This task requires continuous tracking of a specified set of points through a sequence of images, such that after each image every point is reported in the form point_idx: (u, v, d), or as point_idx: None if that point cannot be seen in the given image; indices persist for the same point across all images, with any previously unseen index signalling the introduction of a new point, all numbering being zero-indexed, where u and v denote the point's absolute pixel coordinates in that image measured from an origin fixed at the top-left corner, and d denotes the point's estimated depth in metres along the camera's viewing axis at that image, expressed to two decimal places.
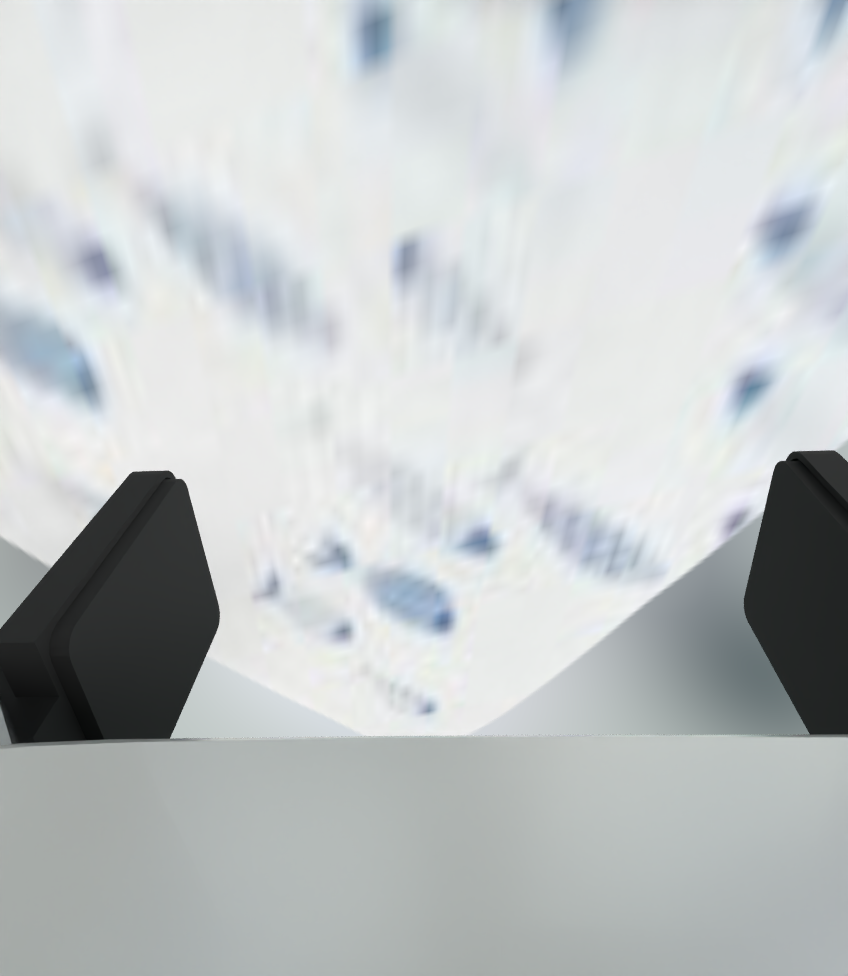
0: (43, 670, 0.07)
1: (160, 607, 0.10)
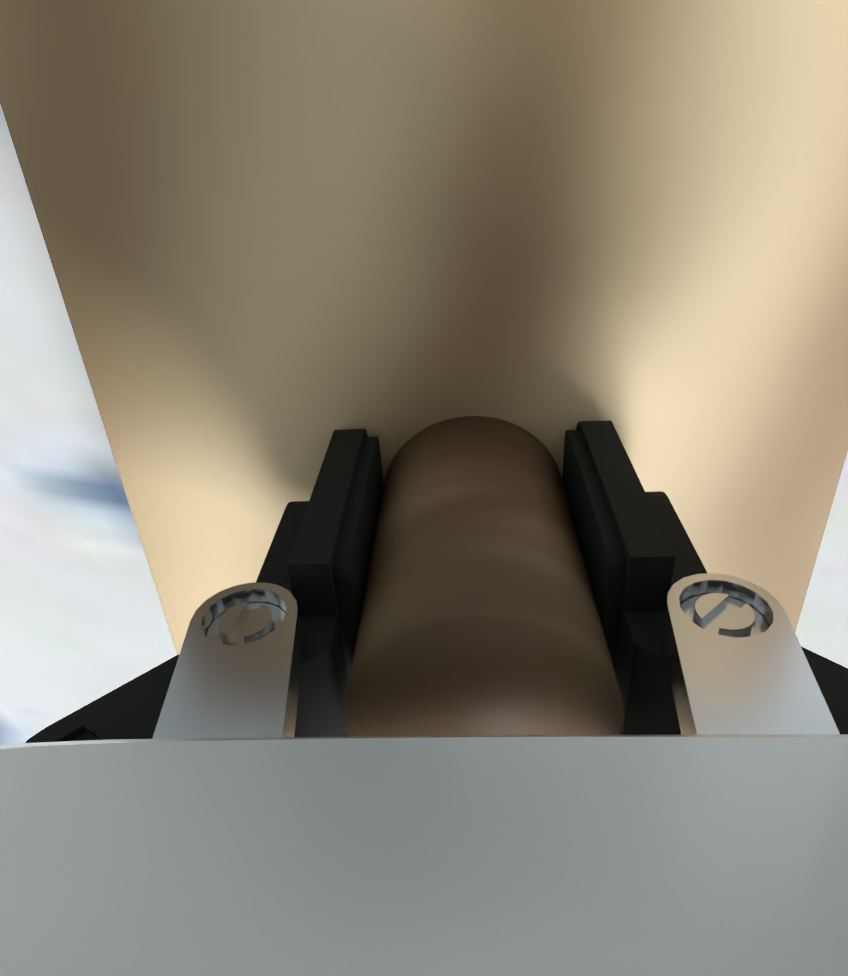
0: (327, 591, 0.08)
1: None
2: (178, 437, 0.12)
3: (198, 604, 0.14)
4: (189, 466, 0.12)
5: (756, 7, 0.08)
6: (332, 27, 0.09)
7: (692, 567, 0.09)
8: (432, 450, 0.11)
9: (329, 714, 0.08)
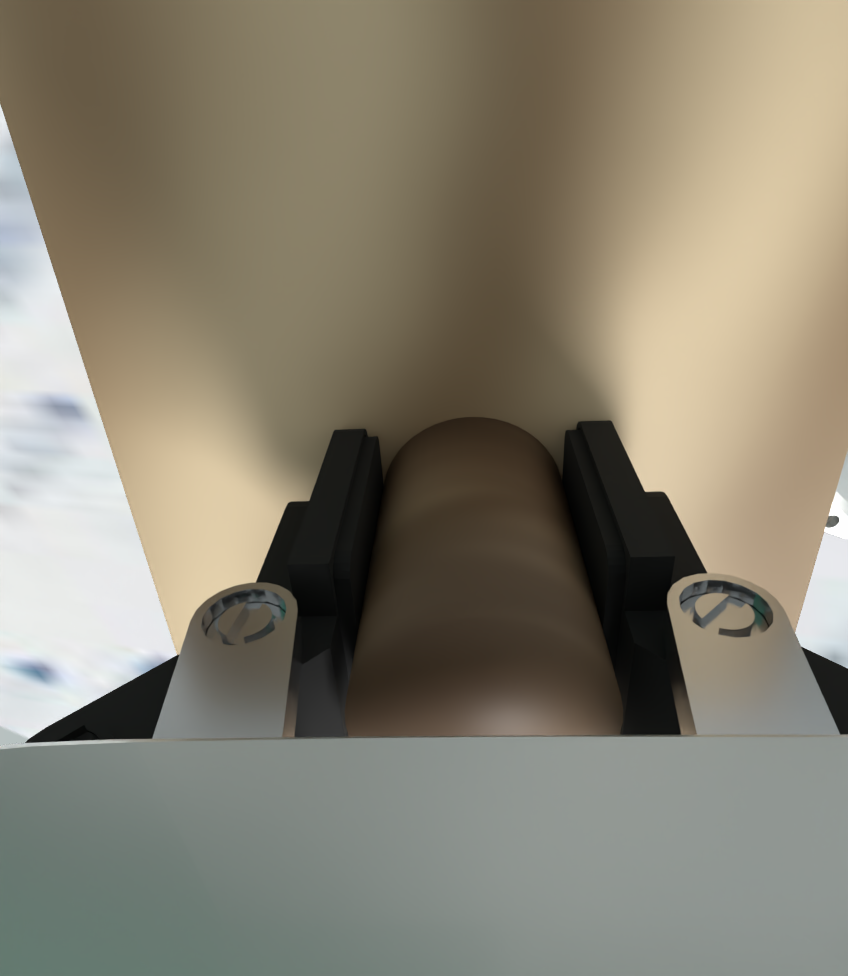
0: (327, 591, 0.08)
1: None
2: (178, 437, 0.12)
3: (198, 604, 0.14)
4: (189, 467, 0.12)
5: (758, 8, 0.08)
6: (332, 29, 0.09)
7: (692, 567, 0.09)
8: (432, 451, 0.11)
9: (329, 714, 0.08)
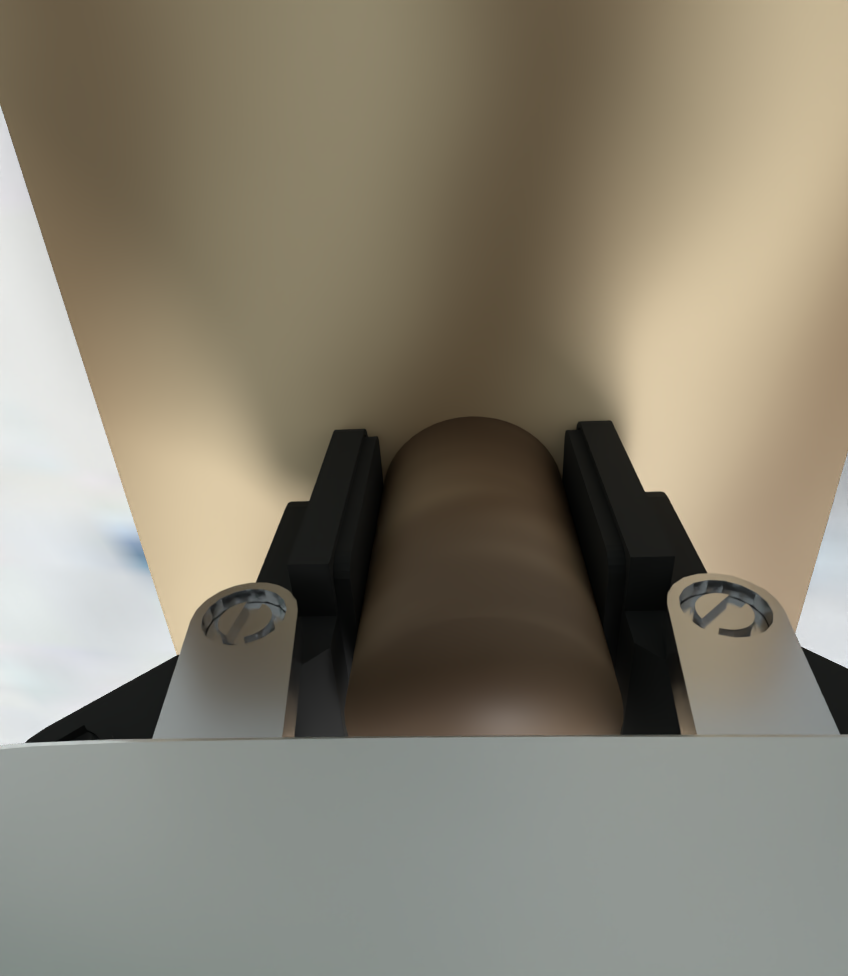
0: (327, 591, 0.08)
1: None
2: (177, 437, 0.12)
3: (197, 604, 0.14)
4: (189, 466, 0.12)
5: (757, 7, 0.08)
6: (332, 27, 0.09)
7: (692, 567, 0.09)
8: (432, 450, 0.11)
9: (329, 714, 0.08)
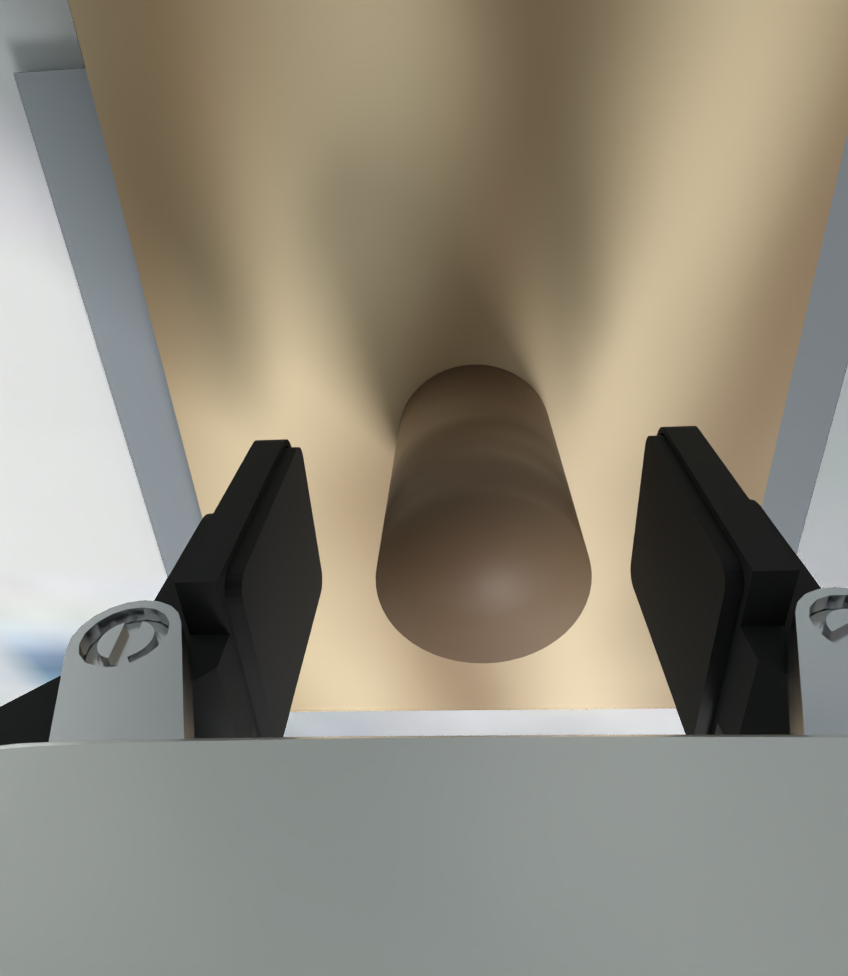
0: (218, 609, 0.08)
1: (289, 564, 0.10)
2: (227, 383, 0.14)
3: None
4: (235, 409, 0.14)
5: (700, 28, 0.11)
6: (363, 43, 0.11)
7: (801, 580, 0.09)
8: (441, 390, 0.13)
9: (221, 735, 0.08)
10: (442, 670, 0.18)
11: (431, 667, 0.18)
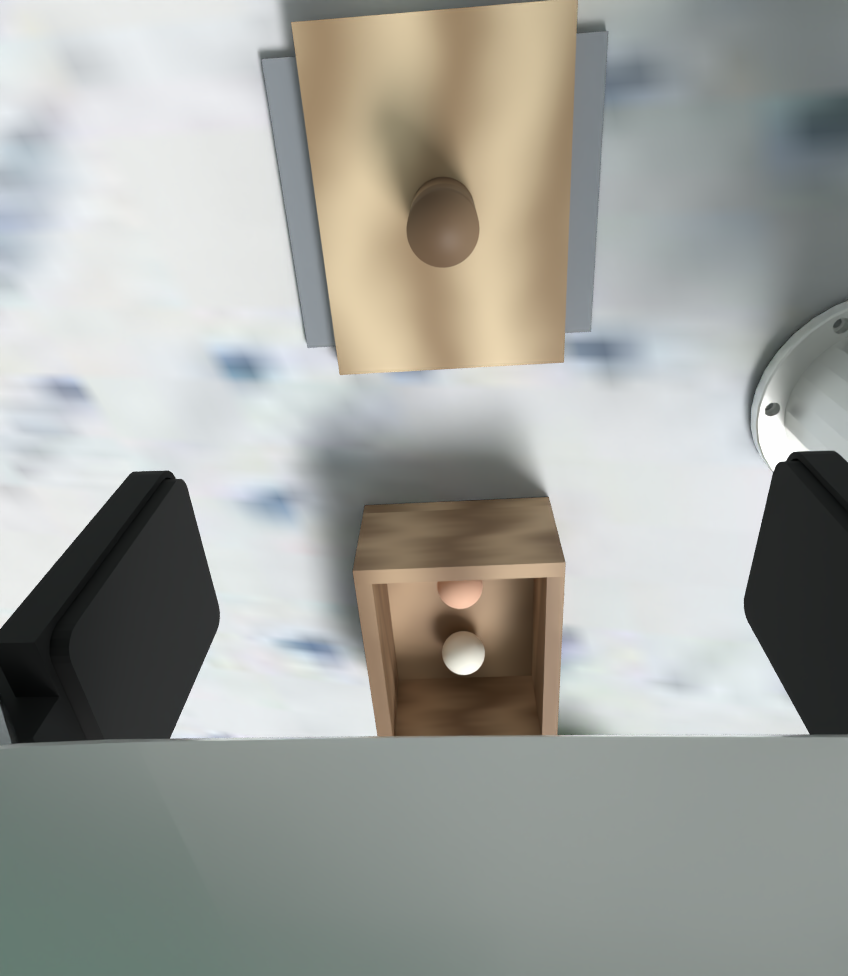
0: (43, 670, 0.07)
1: (160, 607, 0.10)
2: (339, 188, 0.34)
3: (339, 266, 0.36)
4: (342, 201, 0.34)
5: (516, 39, 0.30)
6: (397, 46, 0.31)
7: None
8: (428, 183, 0.33)
9: None
10: (432, 343, 0.38)
11: (427, 342, 0.38)
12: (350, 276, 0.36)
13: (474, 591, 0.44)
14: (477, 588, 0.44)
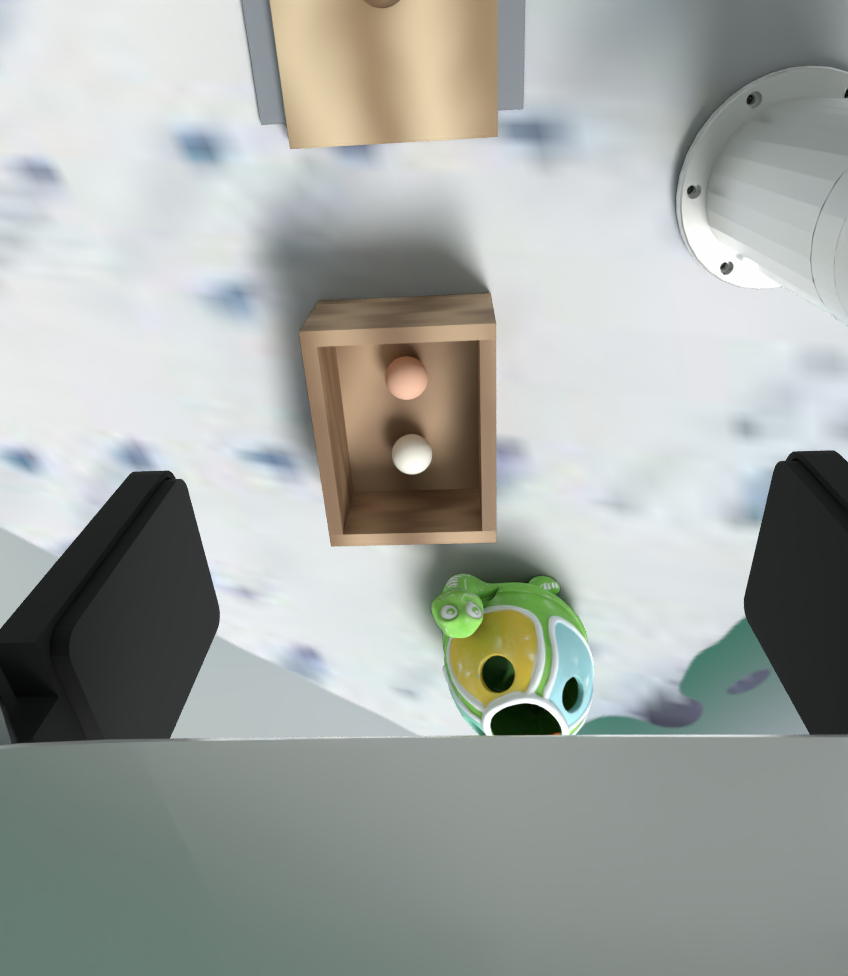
0: (43, 670, 0.07)
1: (160, 607, 0.10)
2: None
3: (287, 30, 0.39)
4: None
5: None
6: None
7: None
8: None
9: None
10: (375, 115, 0.41)
11: (370, 113, 0.41)
12: (297, 41, 0.39)
13: (418, 378, 0.47)
14: (421, 376, 0.47)
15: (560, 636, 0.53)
